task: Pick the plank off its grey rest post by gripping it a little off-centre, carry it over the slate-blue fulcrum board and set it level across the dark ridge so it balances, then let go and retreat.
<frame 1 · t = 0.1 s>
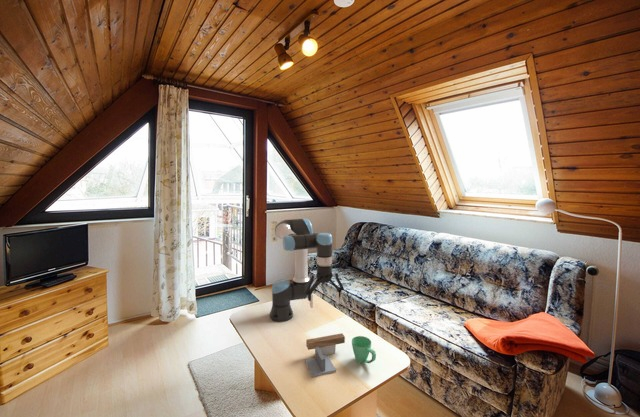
hand: (324, 305, 145), 28 cm above the table, fingers open, 13 cm apart
plank: (325, 344, 151), point 5 cm above the table, touching rest post
rest post: (325, 353, 151), on the table
fulcrum: (320, 366, 141), on the table
mug: (364, 362, 144), on the table
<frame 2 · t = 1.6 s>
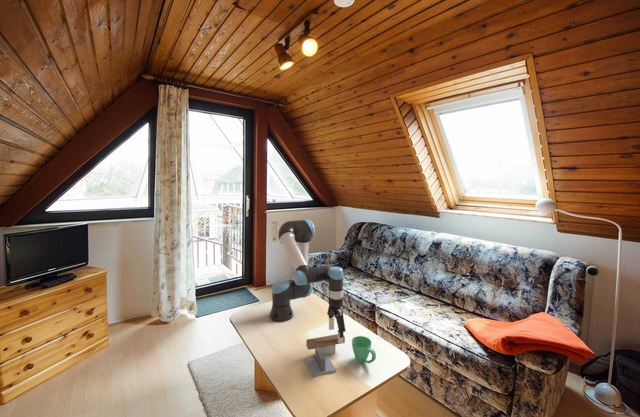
hand: (335, 335, 151), 9 cm above the table, fingers open, 13 cm apart
nothing on the table moved.
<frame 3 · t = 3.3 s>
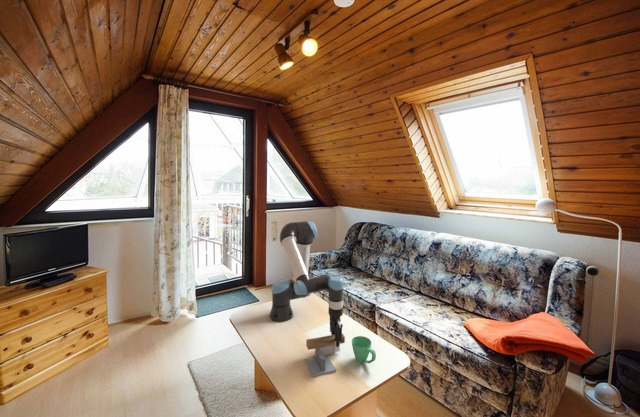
hand: (335, 348, 153), 1 cm above the table, fingers closed on plank, 3 cm apart
plank: (325, 344, 151), point 5 cm above the table, touching gripper, rest post
everything else where it was.
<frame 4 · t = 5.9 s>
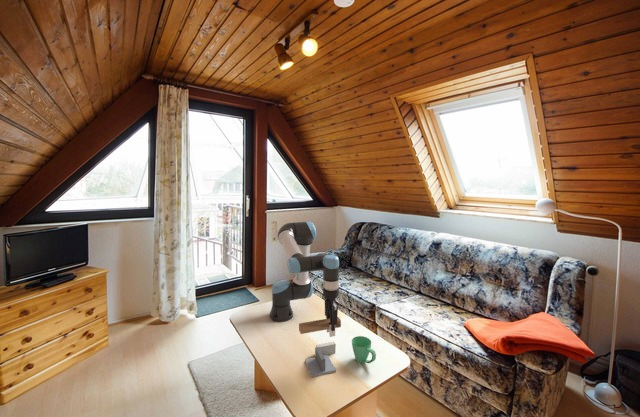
hand: (330, 333, 141), 16 cm above the table, fingers closed on plank, 3 cm apart
plank: (320, 328, 139), point 20 cm above the table, touching gripper
everything else where it was.
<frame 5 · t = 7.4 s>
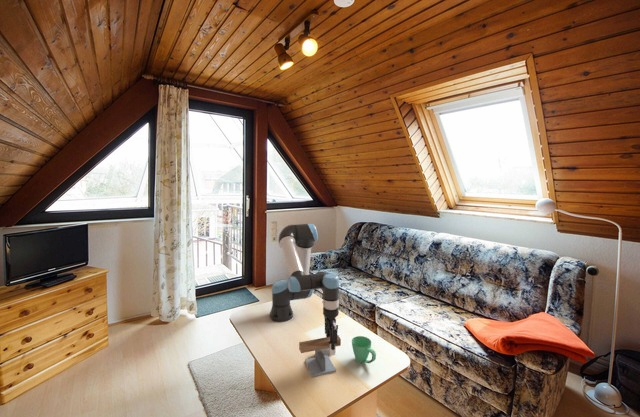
hand: (330, 352, 142), 6 cm above the table, fingers closed on plank, 3 cm apart
plank: (320, 347, 140), point 10 cm above the table, touching gripper
everything else where it was.
when the fingers open (4 cm above the table, at t = 8.5 s): plank stays where it is, resting on fulcrum.
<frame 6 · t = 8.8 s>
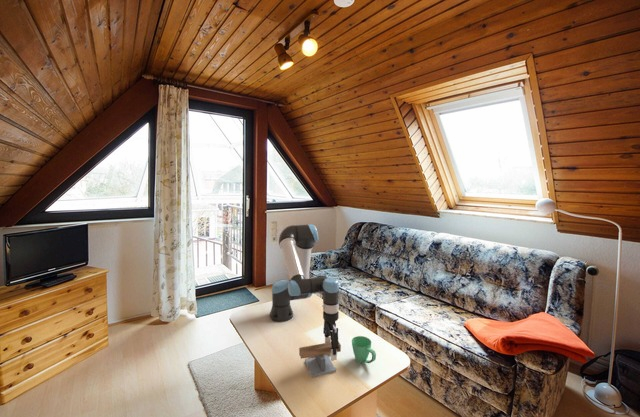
hand: (330, 354, 142), 5 cm above the table, fingers open, 8 cm apart
plank: (320, 352, 140), point 7 cm above the table, touching fulcrum
everything else where it was.
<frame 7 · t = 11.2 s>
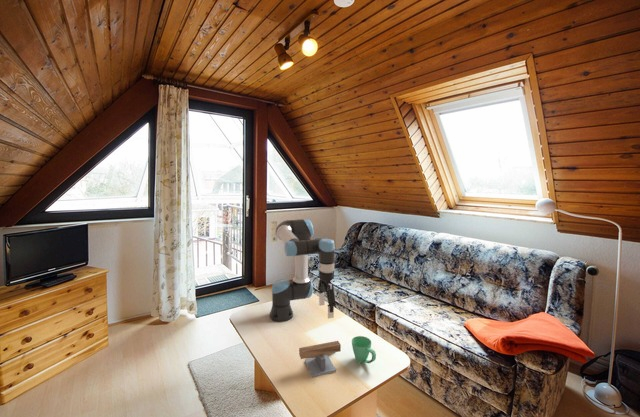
hand: (326, 311, 145), 25 cm above the table, fingers open, 13 cm apart
nothing on the table moved.
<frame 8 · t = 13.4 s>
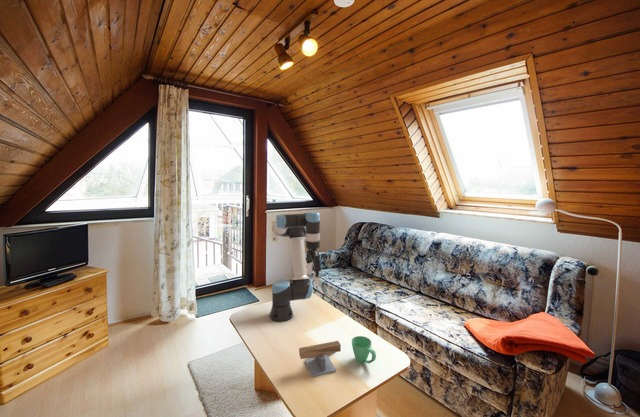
hand: (313, 278, 158), 37 cm above the table, fingers open, 13 cm apart
nothing on the table moved.
at the end: plank 0.0 cm off-centre on the fulcrum, point 7.0 cm above the fulcrum's base; plank tilted 0°; the gripper is holding nothing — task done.
